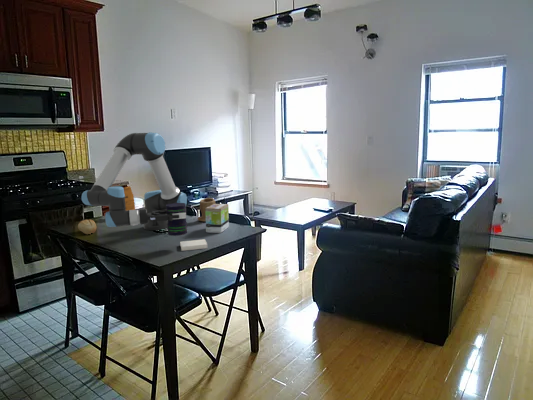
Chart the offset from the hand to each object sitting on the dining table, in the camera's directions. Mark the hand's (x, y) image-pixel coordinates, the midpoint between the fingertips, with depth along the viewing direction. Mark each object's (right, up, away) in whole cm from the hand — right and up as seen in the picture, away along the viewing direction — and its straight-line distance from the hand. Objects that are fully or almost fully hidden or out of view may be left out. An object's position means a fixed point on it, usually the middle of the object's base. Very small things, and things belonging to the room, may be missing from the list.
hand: (185, 213), depth 204 cm
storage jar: (-4, -10, +1) cm, 11 cm away
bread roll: (-67, -13, +40) cm, 80 cm away
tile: (-3, -17, +2) cm, 17 cm away
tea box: (+12, -11, +38) cm, 41 cm away
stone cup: (+4, -7, +63) cm, 63 cm away
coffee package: (-57, -6, +77) cm, 96 cm away
